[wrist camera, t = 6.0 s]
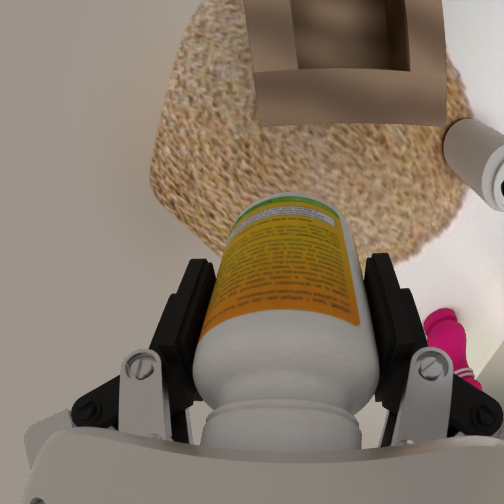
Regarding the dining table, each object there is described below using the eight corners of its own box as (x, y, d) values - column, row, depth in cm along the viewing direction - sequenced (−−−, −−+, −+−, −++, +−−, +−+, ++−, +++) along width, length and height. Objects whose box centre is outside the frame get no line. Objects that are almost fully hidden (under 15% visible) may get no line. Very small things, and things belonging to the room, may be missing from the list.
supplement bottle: (204, 232, 14) (124, 449, 6) (306, 162, 12) (322, 426, 4) (278, 304, 16) (259, 498, 8) (372, 256, 14) (415, 474, 6)
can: (429, 148, 32) (477, 191, 22) (463, 104, 28) (521, 132, 18) (464, 183, 34) (511, 232, 24) (496, 143, 30) (551, 182, 20)
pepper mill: (413, 329, 50) (438, 430, 33) (438, 301, 46) (475, 405, 29) (439, 337, 50) (466, 430, 34) (464, 311, 46) (500, 406, 30)
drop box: (252, -32, 23) (232, -74, 12) (383, -31, 21) (428, -65, 10) (269, 101, 32) (260, 126, 21) (394, 99, 30) (445, 127, 19)
